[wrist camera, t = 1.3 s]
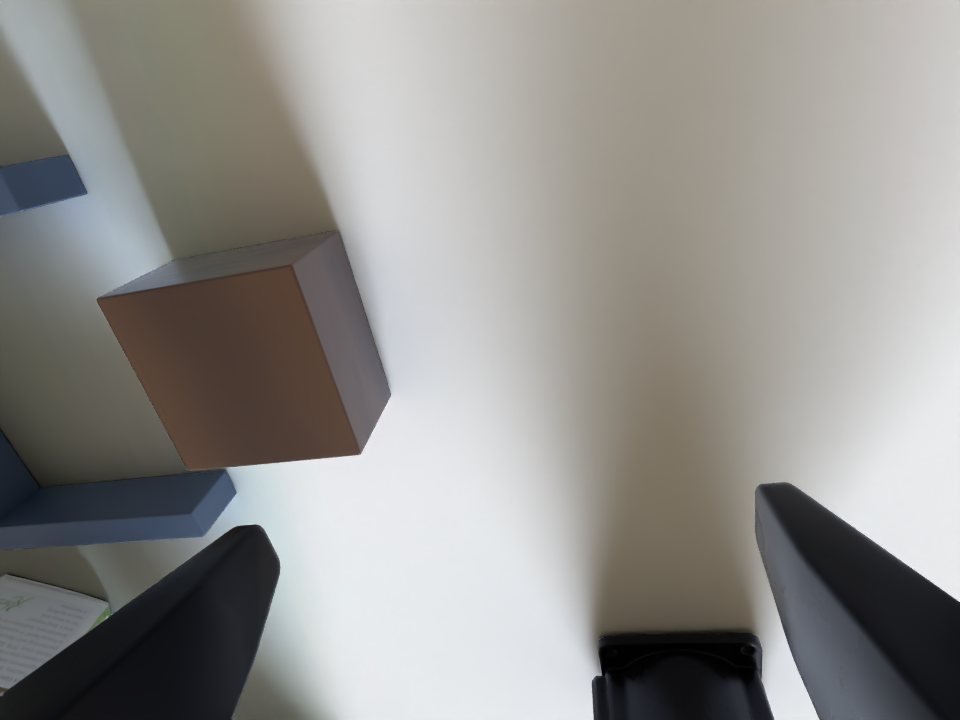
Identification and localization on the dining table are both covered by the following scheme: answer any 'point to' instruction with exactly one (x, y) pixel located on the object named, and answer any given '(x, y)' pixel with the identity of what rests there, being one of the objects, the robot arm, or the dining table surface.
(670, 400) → the dining table surface
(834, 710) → the robot arm
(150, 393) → the walnut block
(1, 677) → the syrup box
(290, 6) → the dining table surface
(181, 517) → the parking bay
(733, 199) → the dining table surface
